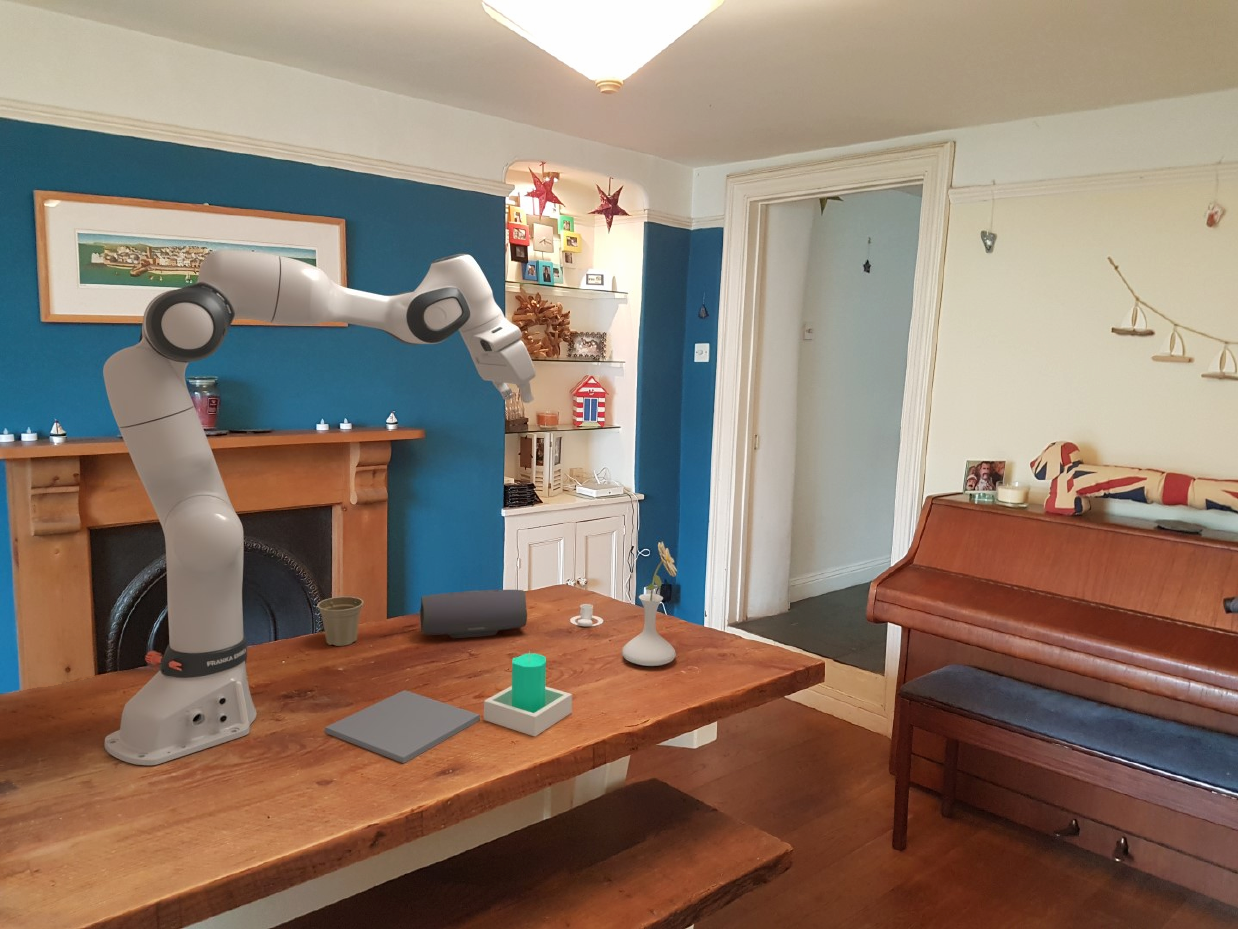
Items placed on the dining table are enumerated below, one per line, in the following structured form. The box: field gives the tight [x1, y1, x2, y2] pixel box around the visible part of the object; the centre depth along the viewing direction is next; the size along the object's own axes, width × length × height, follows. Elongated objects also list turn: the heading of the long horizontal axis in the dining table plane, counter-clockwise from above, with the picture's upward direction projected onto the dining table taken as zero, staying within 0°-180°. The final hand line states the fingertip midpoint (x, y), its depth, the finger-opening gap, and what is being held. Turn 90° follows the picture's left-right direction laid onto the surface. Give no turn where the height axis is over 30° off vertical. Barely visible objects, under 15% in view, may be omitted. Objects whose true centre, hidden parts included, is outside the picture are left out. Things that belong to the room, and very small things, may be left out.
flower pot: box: [316, 596, 364, 647], centre depth 176 cm, size 9×9×9 cm
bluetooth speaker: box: [419, 589, 528, 639], centre depth 183 cm, size 23×9×10 cm, turn 108°
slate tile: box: [324, 689, 481, 764], centre depth 139 cm, size 18×18×1 cm
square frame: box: [483, 685, 573, 737], centre depth 144 cm, size 11×11×4 cm
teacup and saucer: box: [569, 603, 604, 627], centre depth 195 cm, size 9×8×4 cm
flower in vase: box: [621, 541, 678, 667], centre depth 171 cm, size 13×11×25 cm
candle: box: [511, 650, 547, 713], centre depth 143 cm, size 6×6×12 cm
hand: (519, 400), depth 159 cm, fingers open, 8 cm apart
